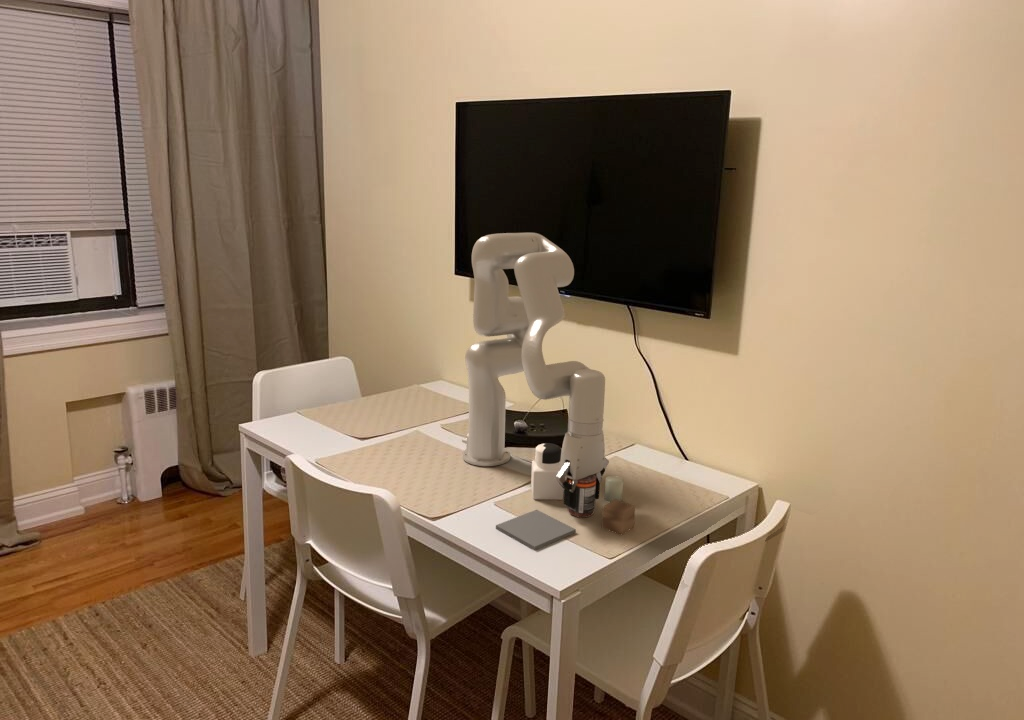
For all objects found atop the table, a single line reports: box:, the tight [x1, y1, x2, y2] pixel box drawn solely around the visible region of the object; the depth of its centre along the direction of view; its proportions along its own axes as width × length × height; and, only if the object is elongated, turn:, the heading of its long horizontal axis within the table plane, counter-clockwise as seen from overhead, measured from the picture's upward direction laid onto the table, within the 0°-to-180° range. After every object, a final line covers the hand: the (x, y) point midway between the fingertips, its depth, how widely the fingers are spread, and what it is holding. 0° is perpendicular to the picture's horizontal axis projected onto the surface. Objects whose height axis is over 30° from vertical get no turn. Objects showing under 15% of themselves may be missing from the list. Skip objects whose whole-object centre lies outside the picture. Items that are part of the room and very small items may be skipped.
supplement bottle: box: [567, 474, 596, 518], centre depth 168 cm, size 6×6×11 cm
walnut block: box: [601, 499, 636, 536], centre depth 162 cm, size 5×5×5 cm
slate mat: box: [495, 509, 577, 551], centre depth 160 cm, size 12×12×1 cm
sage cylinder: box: [604, 475, 624, 503], centre depth 176 cm, size 4×4×5 cm
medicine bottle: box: [530, 442, 564, 501], centre depth 177 cm, size 7×7×12 cm
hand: (581, 501), depth 169 cm, fingers open, 6 cm apart
